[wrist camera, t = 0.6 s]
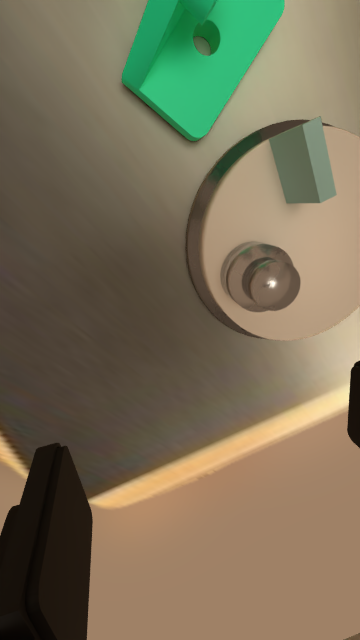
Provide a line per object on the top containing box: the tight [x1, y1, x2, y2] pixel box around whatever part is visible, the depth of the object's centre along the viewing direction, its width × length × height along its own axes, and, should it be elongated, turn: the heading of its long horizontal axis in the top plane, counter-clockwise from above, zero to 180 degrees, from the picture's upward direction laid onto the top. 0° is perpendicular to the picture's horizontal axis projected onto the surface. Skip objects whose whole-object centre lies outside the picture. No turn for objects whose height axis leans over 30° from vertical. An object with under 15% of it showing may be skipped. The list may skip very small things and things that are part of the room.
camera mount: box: [122, 0, 284, 141], centre depth 21 cm, size 12×8×10 cm, turn 146°
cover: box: [220, 241, 301, 312], centre depth 27 cm, size 6×6×5 cm
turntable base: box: [186, 120, 333, 339], centre depth 33 cm, size 22×22×1 cm
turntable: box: [199, 116, 360, 341], centre depth 28 cm, size 20×20×7 cm
